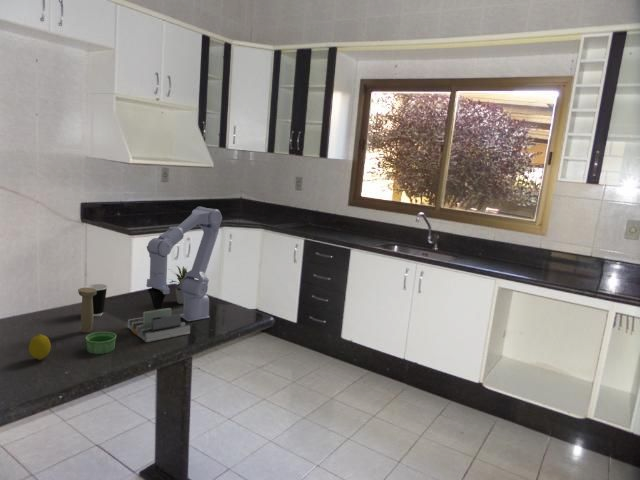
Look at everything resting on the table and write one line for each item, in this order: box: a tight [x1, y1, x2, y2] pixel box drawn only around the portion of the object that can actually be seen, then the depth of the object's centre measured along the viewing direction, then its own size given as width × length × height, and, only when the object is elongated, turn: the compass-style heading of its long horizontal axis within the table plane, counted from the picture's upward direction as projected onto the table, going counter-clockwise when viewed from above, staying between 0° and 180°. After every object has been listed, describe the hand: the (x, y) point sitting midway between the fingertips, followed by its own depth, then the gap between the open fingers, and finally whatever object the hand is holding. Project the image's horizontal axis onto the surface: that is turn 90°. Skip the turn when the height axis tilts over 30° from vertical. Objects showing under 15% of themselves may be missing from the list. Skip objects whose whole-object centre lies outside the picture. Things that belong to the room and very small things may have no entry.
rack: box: [127, 313, 191, 343], centre depth 169 cm, size 16×16×7 cm
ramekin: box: [84, 331, 117, 355], centre depth 150 cm, size 9×9×4 cm
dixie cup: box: [84, 283, 108, 317], centre depth 179 cm, size 8×8×11 cm
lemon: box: [28, 333, 52, 361], centre depth 139 cm, size 6×6×8 cm
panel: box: [142, 307, 173, 325], centre depth 170 cm, size 10×2×6 cm, turn 133°
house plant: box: [168, 265, 188, 305], centre depth 202 cm, size 14×14×16 cm
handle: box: [77, 287, 97, 334], centre depth 162 cm, size 5×6×15 cm
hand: (157, 308), depth 170 cm, fingers closed
